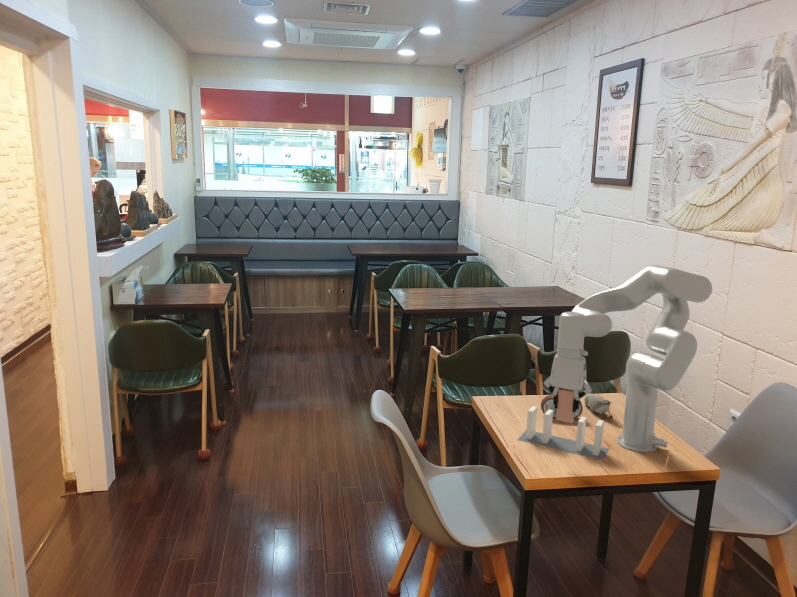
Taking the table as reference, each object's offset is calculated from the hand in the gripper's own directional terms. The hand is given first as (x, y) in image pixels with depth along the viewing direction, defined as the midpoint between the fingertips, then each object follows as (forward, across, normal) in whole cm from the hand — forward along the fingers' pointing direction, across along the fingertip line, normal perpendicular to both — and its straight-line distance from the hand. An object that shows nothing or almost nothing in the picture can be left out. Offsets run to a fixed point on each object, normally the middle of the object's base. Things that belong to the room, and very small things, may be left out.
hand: (565, 408), depth 186 cm
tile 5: (+16, -9, -10) cm, 21 cm away
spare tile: (+4, 0, 0) cm, 4 cm away
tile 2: (+16, +8, -10) cm, 20 cm away
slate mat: (+17, +2, -10) cm, 19 cm away
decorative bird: (+17, -1, -46) cm, 49 cm away
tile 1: (+16, +13, -10) cm, 23 cm away
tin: (+17, +9, -34) cm, 39 cm away
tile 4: (+16, -3, -10) cm, 19 cm away
